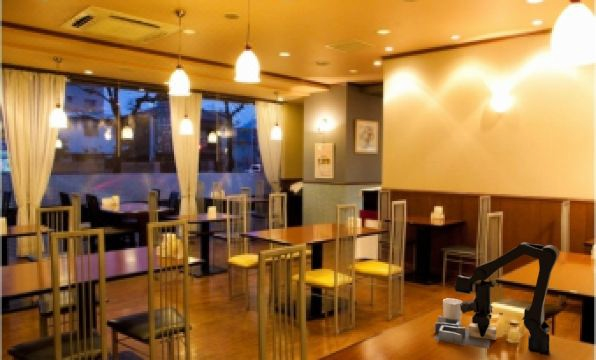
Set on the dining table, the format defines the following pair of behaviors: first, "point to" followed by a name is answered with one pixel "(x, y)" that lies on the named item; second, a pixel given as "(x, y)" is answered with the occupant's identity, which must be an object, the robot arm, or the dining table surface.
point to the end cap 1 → (446, 323)
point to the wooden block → (476, 333)
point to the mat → (472, 340)
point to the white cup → (452, 308)
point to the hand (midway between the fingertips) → (482, 334)
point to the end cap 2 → (452, 334)
